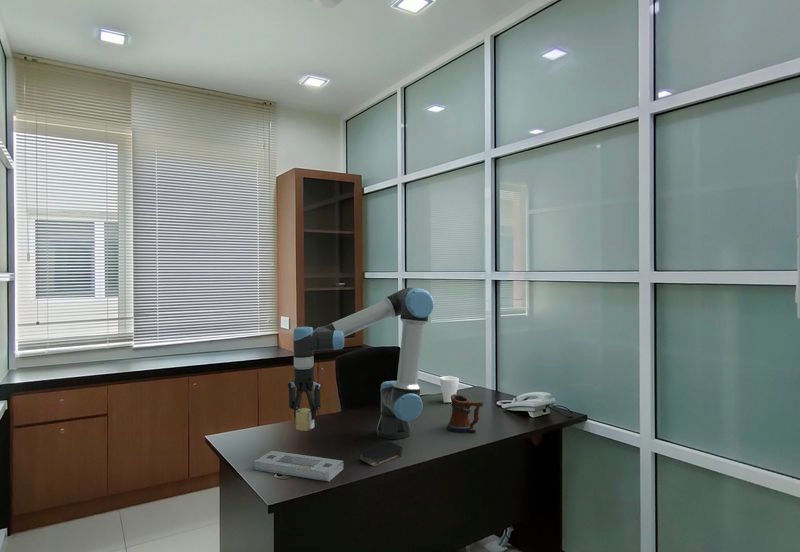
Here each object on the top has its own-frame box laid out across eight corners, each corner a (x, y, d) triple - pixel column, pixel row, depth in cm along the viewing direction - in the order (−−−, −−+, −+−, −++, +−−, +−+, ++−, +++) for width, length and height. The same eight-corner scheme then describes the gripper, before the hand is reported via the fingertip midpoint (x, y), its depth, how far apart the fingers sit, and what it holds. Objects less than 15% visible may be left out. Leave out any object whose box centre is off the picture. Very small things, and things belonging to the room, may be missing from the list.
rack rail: (343, 469, 172) (343, 460, 172) (329, 481, 162) (329, 472, 162) (271, 458, 182) (271, 450, 182) (254, 469, 171) (254, 460, 171)
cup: (461, 401, 266) (461, 377, 266) (455, 406, 256) (455, 380, 256) (443, 399, 270) (443, 375, 270) (436, 403, 260) (437, 379, 260)
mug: (489, 432, 213) (489, 398, 213) (474, 438, 205) (474, 403, 205) (457, 423, 226) (457, 391, 226) (442, 428, 218) (442, 396, 218)
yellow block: (314, 426, 186) (313, 408, 186) (307, 430, 182) (307, 412, 182) (302, 425, 188) (302, 408, 188) (296, 429, 183) (295, 411, 183)
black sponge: (389, 450, 191) (389, 441, 191) (404, 456, 185) (404, 446, 185) (358, 462, 180) (358, 452, 180) (373, 468, 174) (373, 458, 174)
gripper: (329, 366, 185) (330, 426, 185) (288, 364, 191) (290, 422, 191) (320, 370, 178) (321, 432, 178) (278, 368, 184) (279, 428, 184)
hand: (305, 427), depth 185 cm, fingers closed on yellow block, 5 cm apart
